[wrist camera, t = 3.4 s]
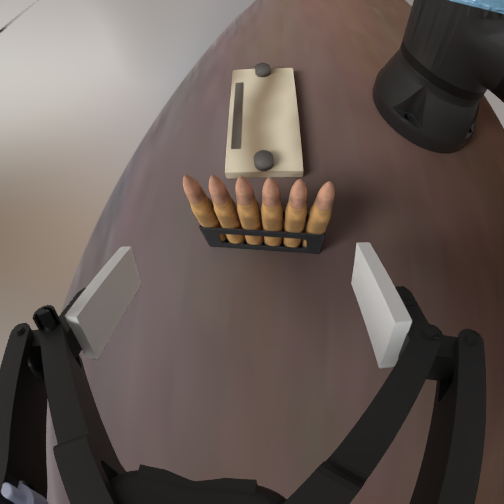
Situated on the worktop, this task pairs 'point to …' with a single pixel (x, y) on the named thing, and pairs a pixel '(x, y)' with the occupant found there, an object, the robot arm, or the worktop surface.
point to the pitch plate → (263, 124)
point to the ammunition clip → (249, 216)
